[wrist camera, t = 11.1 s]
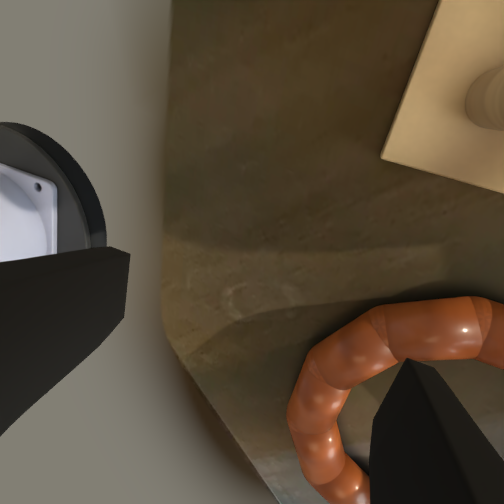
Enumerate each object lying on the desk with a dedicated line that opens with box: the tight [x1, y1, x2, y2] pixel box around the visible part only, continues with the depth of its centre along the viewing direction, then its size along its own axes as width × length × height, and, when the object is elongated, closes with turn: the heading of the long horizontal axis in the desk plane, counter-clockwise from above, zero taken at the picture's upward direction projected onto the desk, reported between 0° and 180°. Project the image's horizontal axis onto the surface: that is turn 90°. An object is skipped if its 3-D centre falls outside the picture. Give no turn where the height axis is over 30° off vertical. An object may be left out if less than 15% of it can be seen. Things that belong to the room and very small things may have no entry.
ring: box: [286, 296, 504, 504], centre depth 18 cm, size 16×16×3 cm
